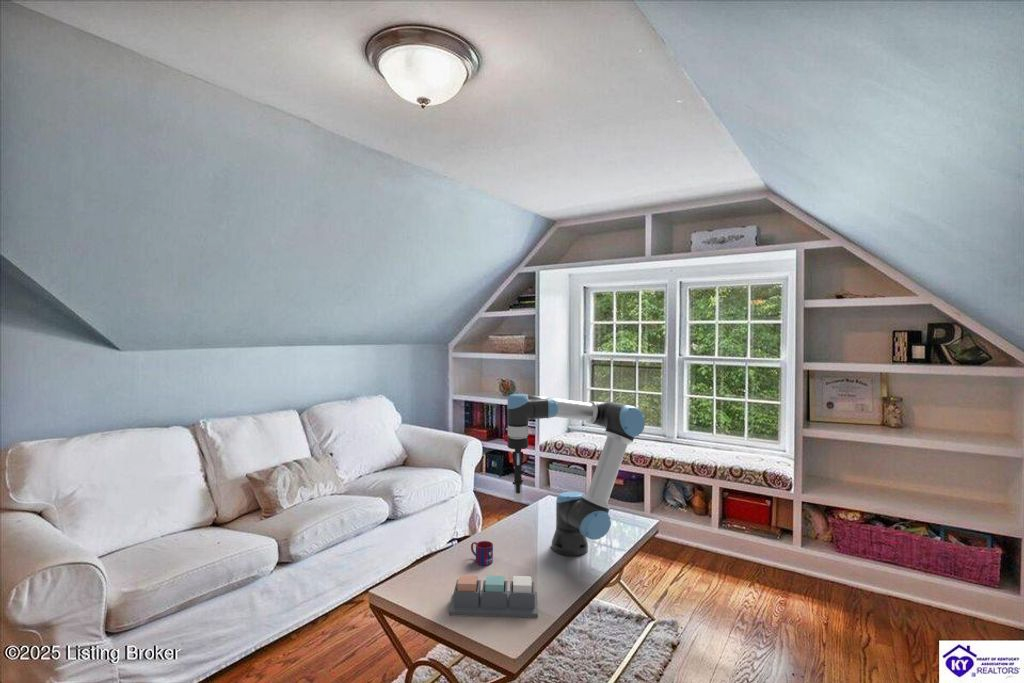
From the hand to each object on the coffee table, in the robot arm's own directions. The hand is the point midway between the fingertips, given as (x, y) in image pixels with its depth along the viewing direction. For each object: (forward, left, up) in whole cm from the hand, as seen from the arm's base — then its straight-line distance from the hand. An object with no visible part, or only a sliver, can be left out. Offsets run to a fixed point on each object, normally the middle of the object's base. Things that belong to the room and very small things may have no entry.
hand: (517, 500), depth 175 cm
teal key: (+7, +18, -25) cm, 32 cm away
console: (+7, +18, -28) cm, 34 cm away
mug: (+14, -13, -29) cm, 34 cm away
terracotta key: (+16, +18, -25) cm, 35 cm away
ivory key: (-2, +18, -25) cm, 31 cm away
